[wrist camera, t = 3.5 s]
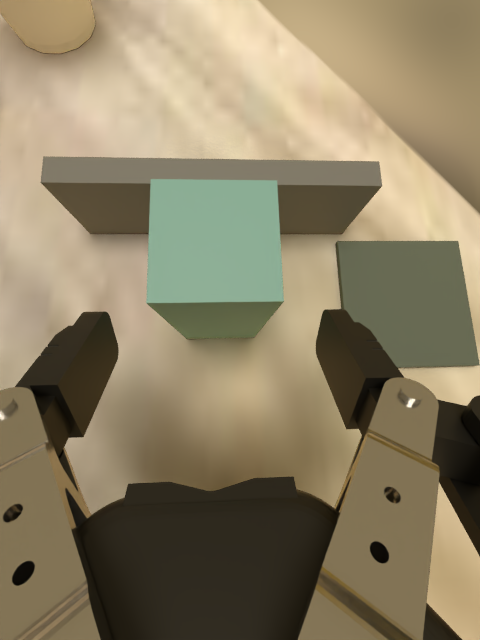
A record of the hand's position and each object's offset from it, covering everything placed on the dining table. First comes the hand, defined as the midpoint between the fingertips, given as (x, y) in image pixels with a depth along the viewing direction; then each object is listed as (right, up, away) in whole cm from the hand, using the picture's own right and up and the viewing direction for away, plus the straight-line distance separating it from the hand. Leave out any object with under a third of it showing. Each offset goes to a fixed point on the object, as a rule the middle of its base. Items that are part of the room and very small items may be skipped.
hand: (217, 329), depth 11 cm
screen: (-1, +9, +10) cm, 13 cm away
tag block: (-1, +1, +9) cm, 9 cm away
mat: (+12, +2, +9) cm, 16 cm away
